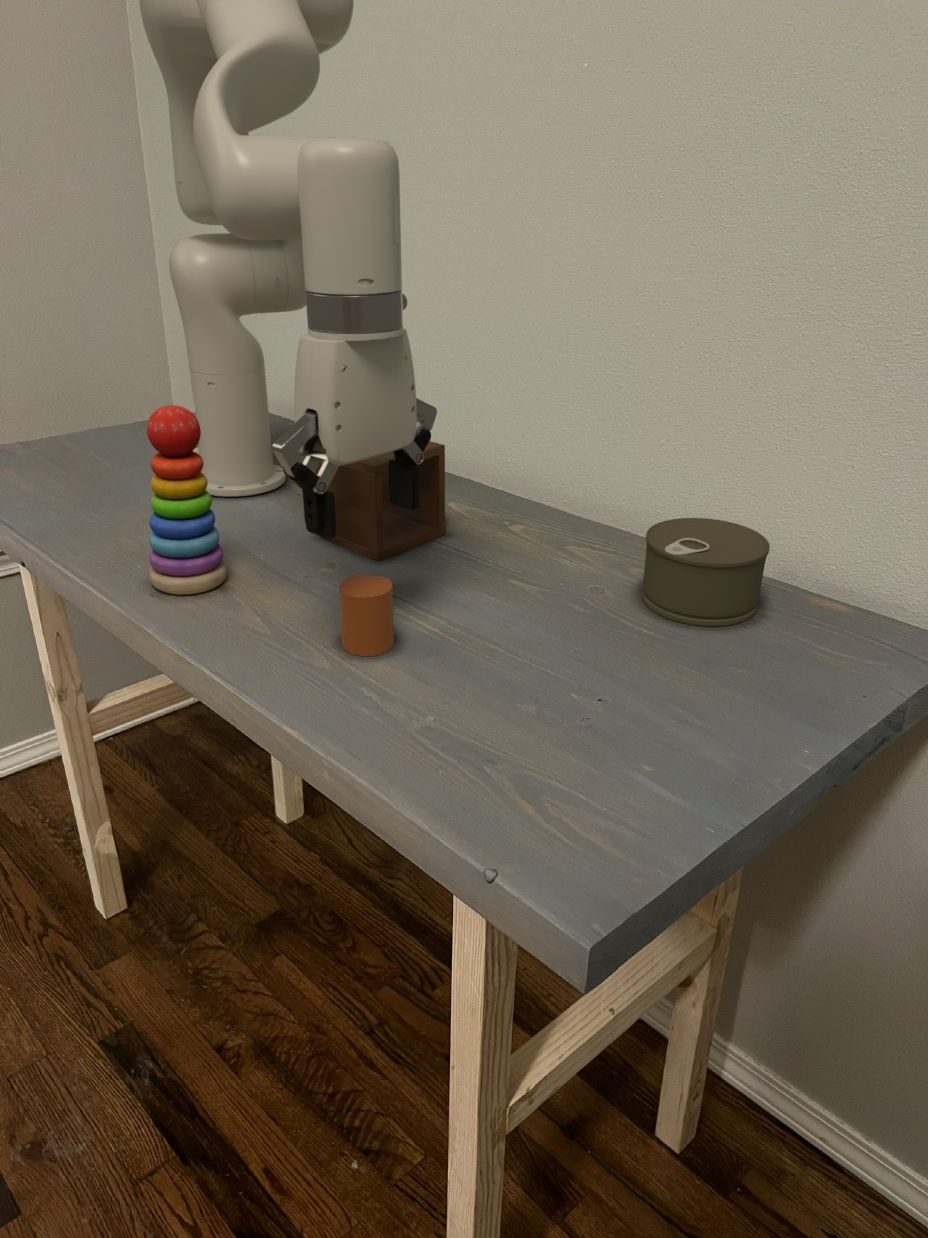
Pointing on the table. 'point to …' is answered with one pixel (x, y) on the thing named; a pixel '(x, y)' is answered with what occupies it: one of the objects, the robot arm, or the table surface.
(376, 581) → the copper tin
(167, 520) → the stacking toy
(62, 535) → the table surface
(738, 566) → the can
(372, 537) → the shelf
